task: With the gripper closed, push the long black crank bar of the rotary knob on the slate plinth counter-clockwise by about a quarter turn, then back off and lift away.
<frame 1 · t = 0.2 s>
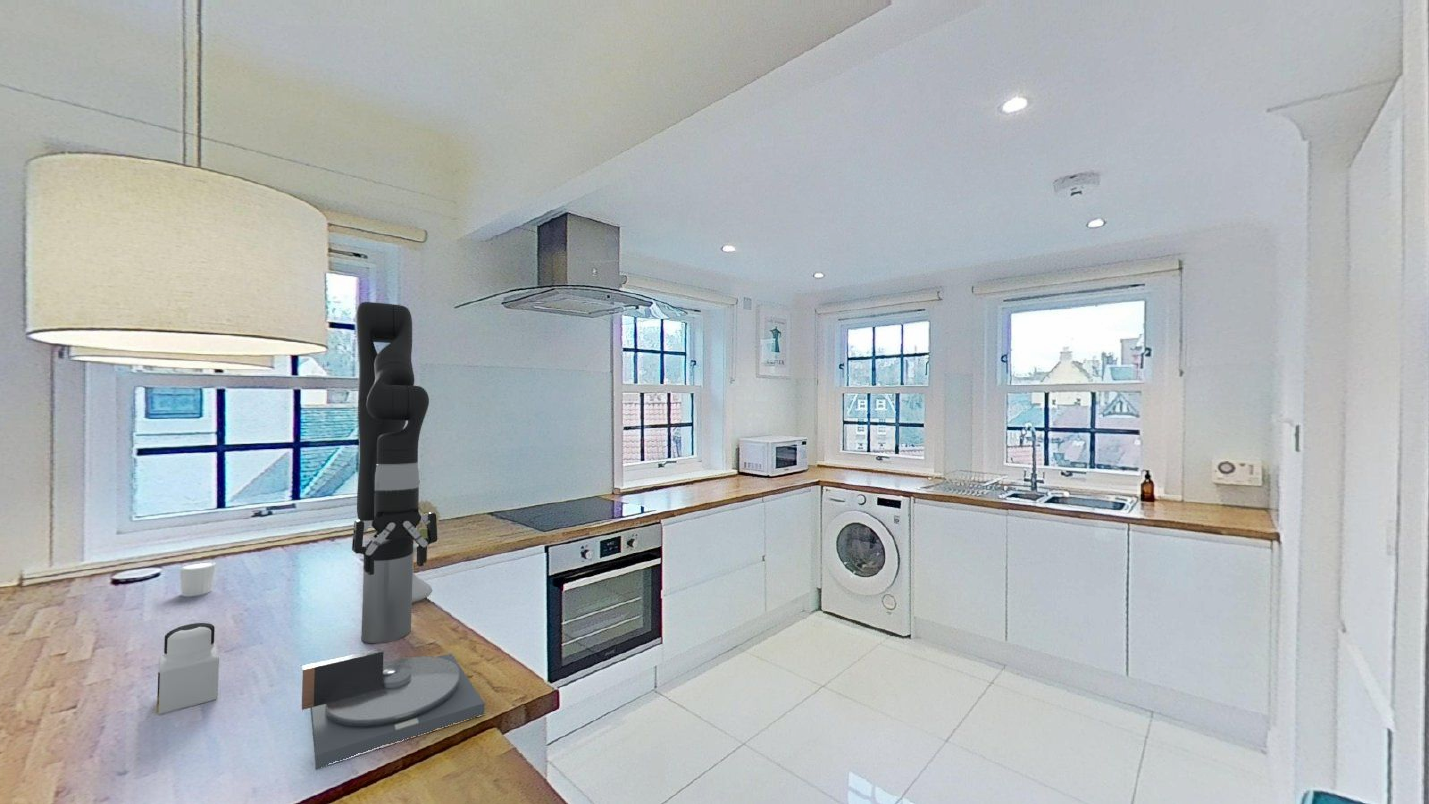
hand: (395, 569, 106), 18 cm above the worktop, tool pointing down, fingers open, 8 cm apart
flower in vase: (410, 600, 139), on the worktop
plinth: (395, 707, 89), on the worktop
white cup: (197, 593, 140), on the worktop
rotary knob: (386, 672, 89), point 6 cm above the worktop, hinge at 0.0°
grey handled container: (187, 700, 91), on the worktop
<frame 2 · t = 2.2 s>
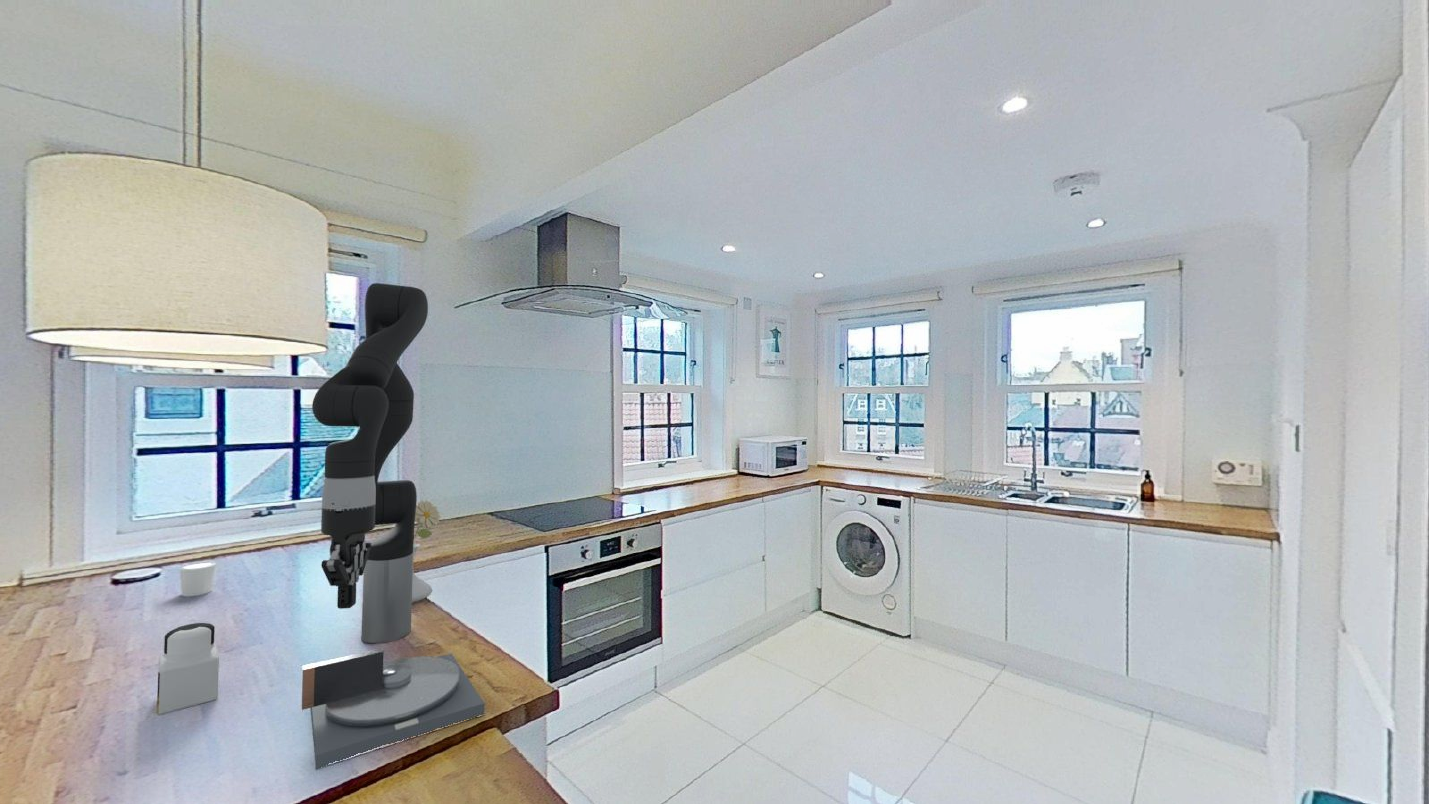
hand: (346, 606, 91), 16 cm above the worktop, tool pointing down, fingers closed
nothing on the worktop moved.
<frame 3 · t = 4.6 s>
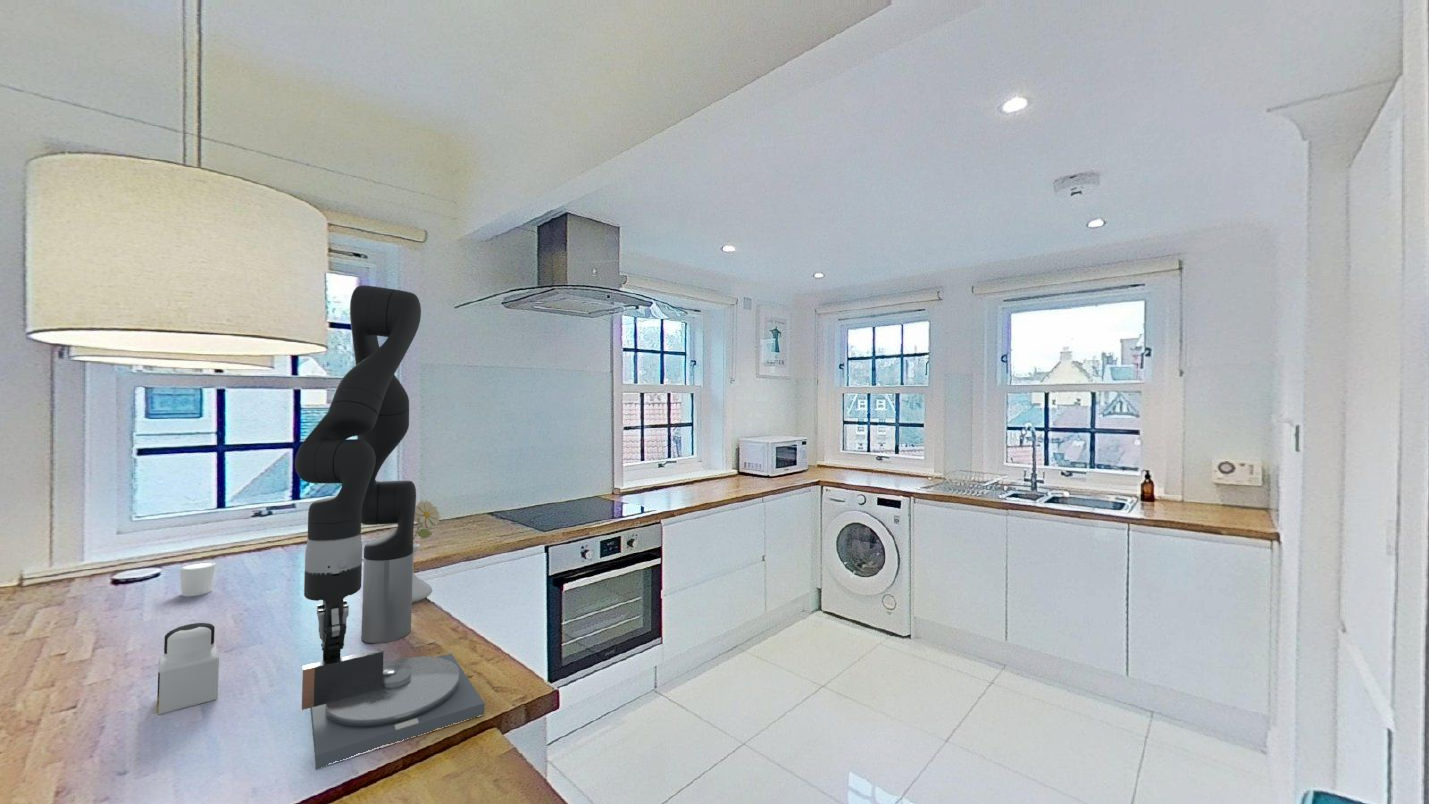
hand: (331, 672, 87), 7 cm above the worktop, tool pointing down, fingers closed
rotary knob: (386, 672, 89), point 6 cm above the worktop, hinge at 0.1°, touching gripper
everything else where it was.
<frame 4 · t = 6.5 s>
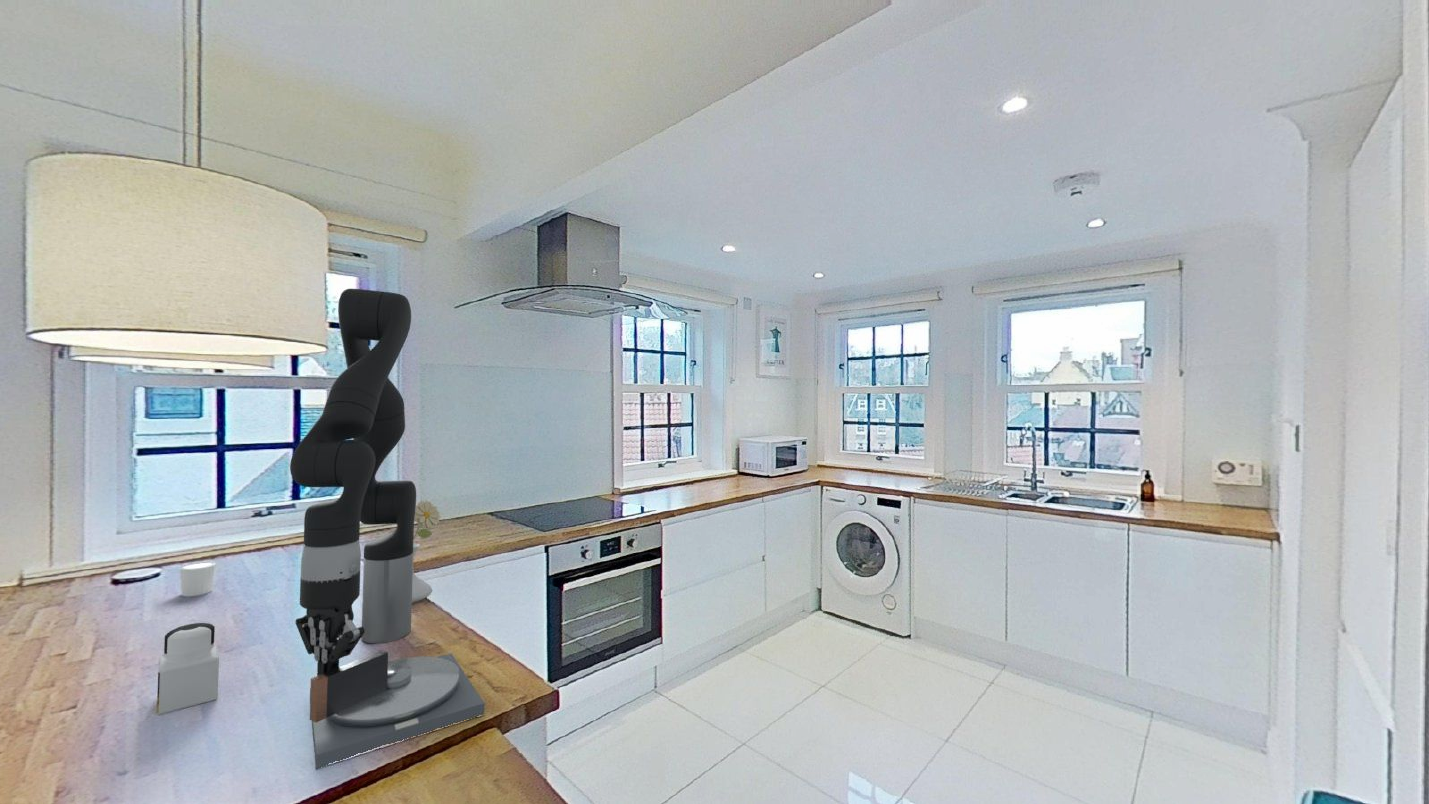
hand: (327, 683, 83), 7 cm above the worktop, tool pointing down, fingers closed
rotary knob: (387, 673, 88), point 6 cm above the worktop, hinge at 25.0°, touching gripper
everything else where it was.
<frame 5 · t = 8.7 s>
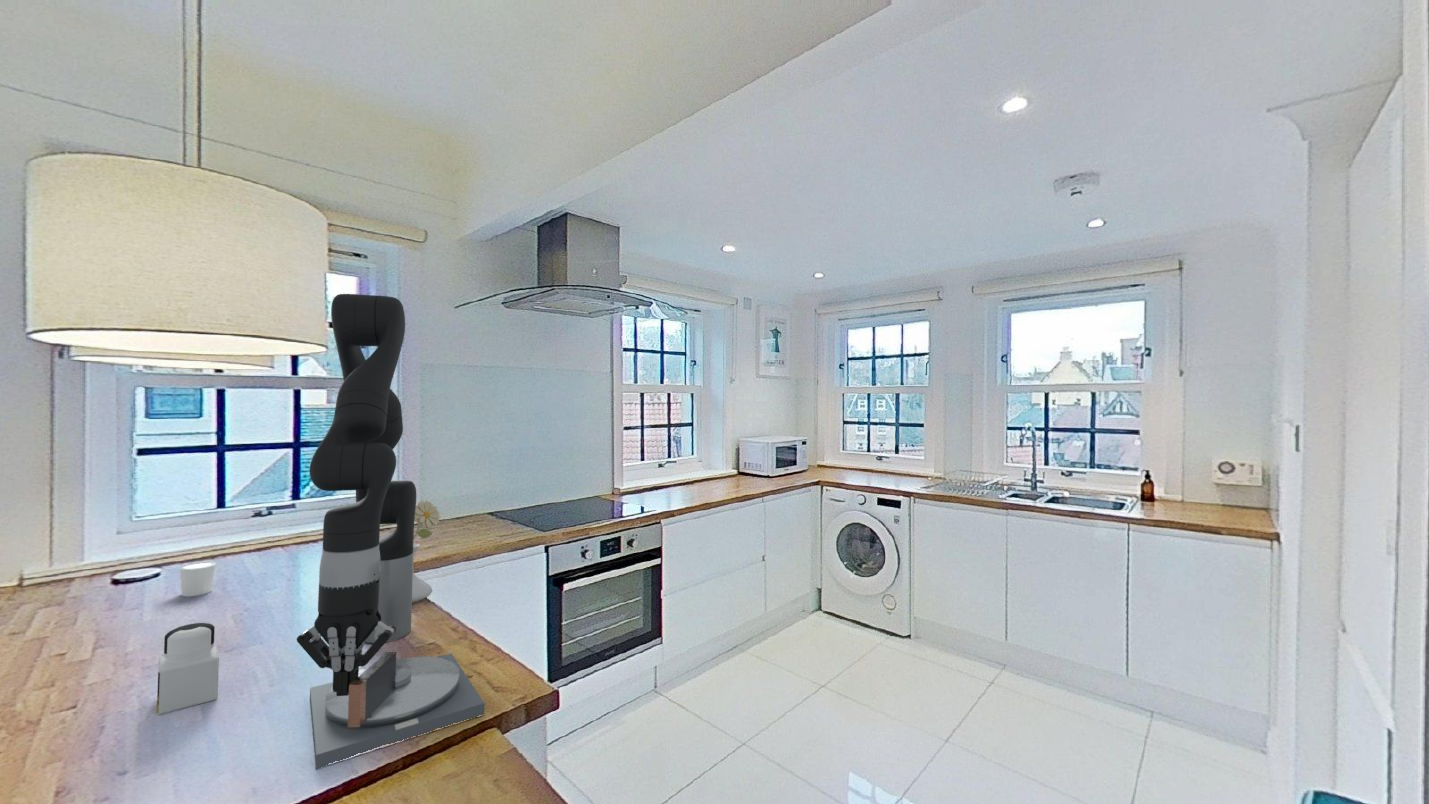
hand: (345, 693, 80), 7 cm above the worktop, tool pointing down, fingers closed
rotary knob: (392, 673, 88), point 6 cm above the worktop, hinge at 57.2°, touching gripper
everything else where it was.
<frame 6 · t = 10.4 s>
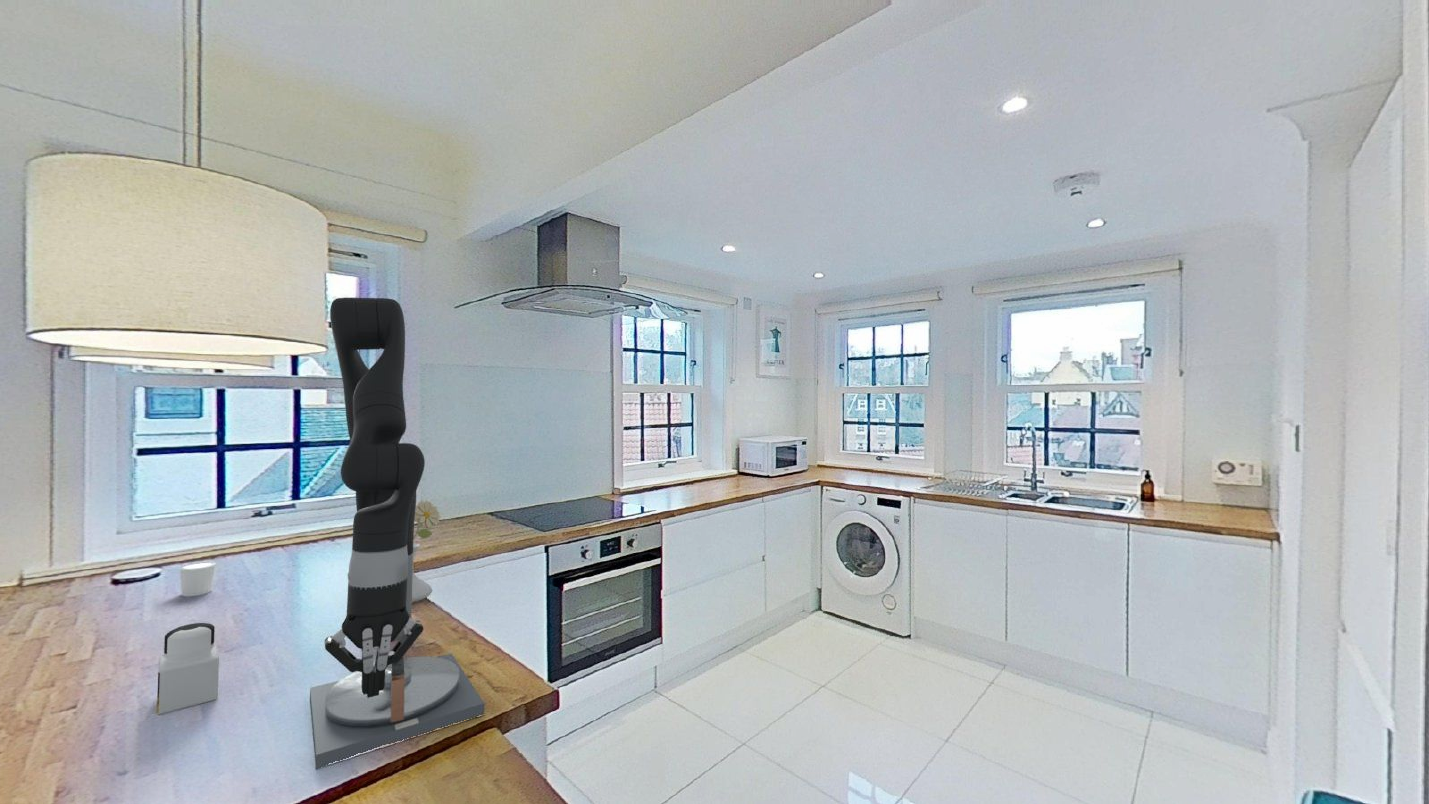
hand: (372, 694, 80), 7 cm above the worktop, tool pointing down, fingers closed
rotary knob: (396, 673, 88), point 6 cm above the worktop, hinge at 82.8°, touching gripper
everything else where it was.
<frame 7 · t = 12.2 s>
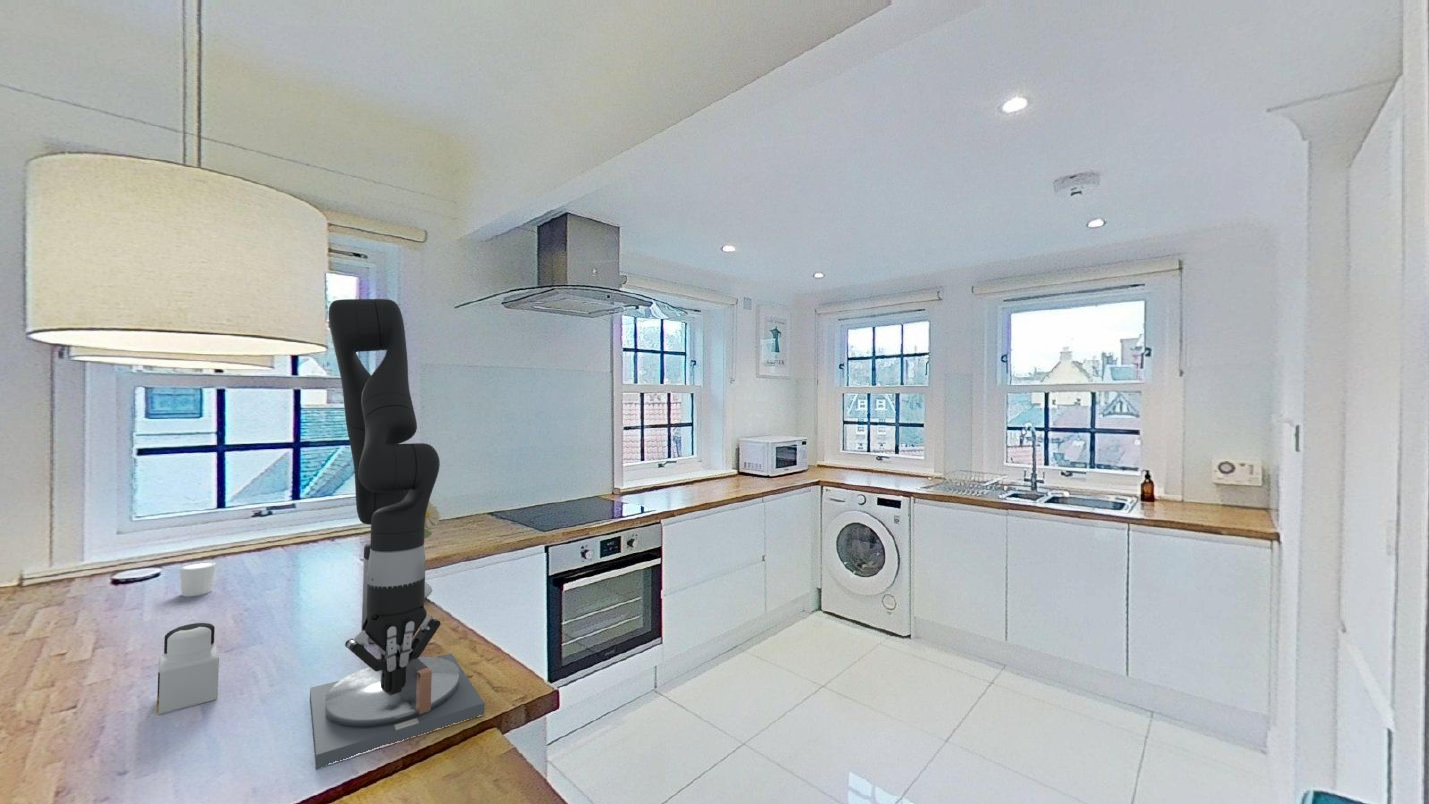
hand: (393, 691, 81), 7 cm above the worktop, tool pointing down, fingers closed
rotary knob: (399, 672, 89), point 6 cm above the worktop, hinge at 99.7°
everything else where it was.
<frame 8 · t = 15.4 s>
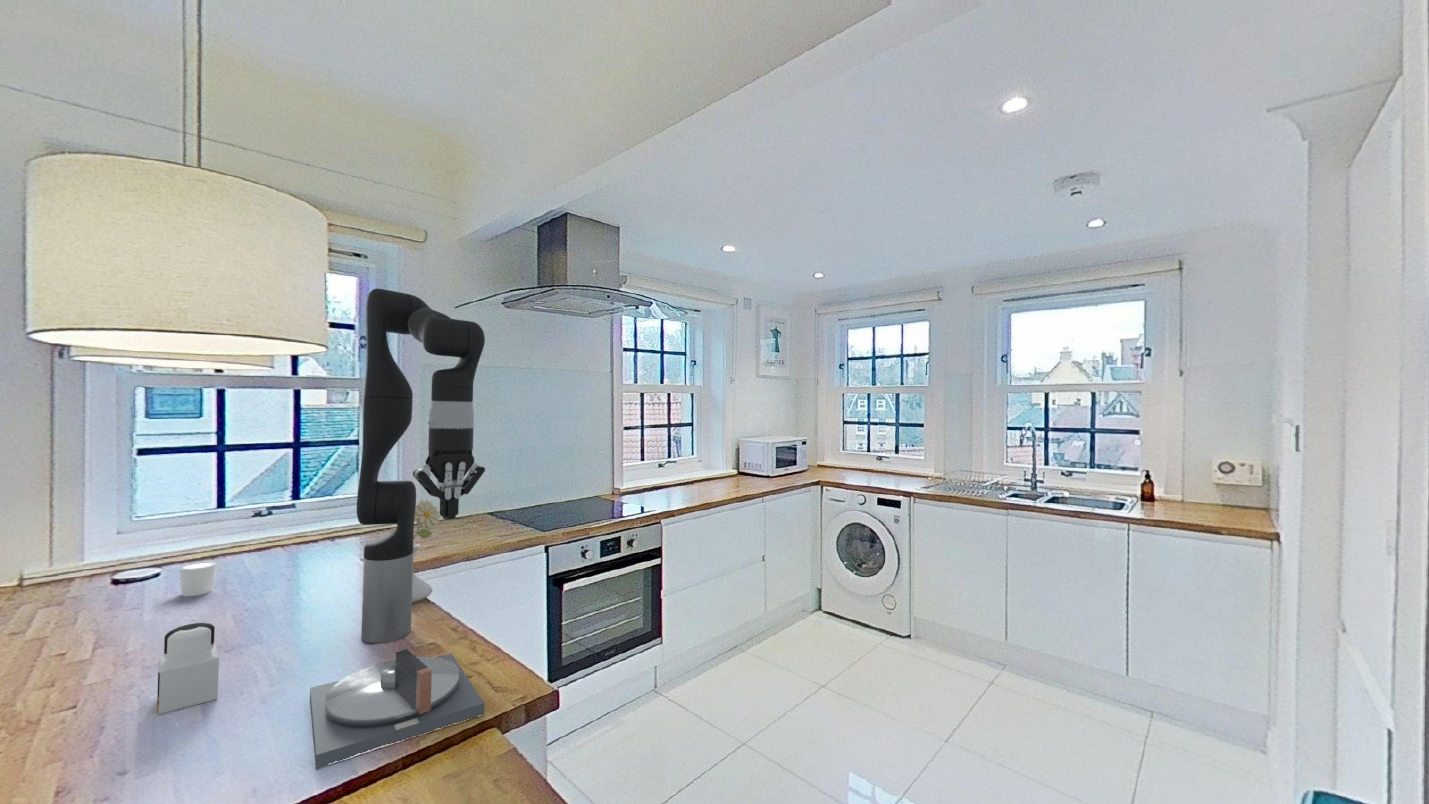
hand: (449, 518, 101), 29 cm above the worktop, tool pointing down, fingers closed
nothing on the worktop moved.
at the end: rotary knob at +100° (first picture: +0°) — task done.
